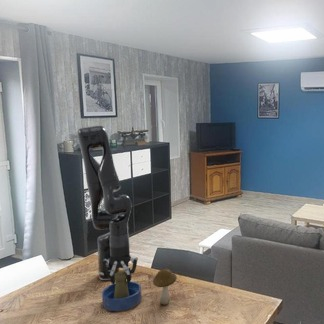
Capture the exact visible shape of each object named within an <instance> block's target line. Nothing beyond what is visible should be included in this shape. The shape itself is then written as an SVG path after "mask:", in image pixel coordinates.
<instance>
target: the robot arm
mask: <svg viewBox="0 0 324 324" xmlns="http://www.w3.org/2000/svg"><path fill="white" fill-rule="evenodd" d="M77 140H78V143H79V148H80V152H81V157H82V160H83V161H82V162H83V166H84V172H85V181H86V186H87V189H88V195H89V201H90V209H91V219H92V226H93V228H94V229H95V230H109V231H108V232H107V233H104V234H101V235H99V236H98V237H97V239H96V240H97V260H98V274H97V275H98V279H99V280H100V281H110V283H111V285H112V284H115V283H116V281H115V279H114V275H115V273H117V272H119V271H120V269H123V271H125V272H126V273H127V279H126V281H127V283H129V282H130V281H131V282H132V274H134V273H135V272H136V269H137V266H138V265H137V264H138V259H139V257H136V256H135V257H132V256H131V252H130V234H129V221H130V220H129V219H130V215H131V212H132V207H133V202H132V199H131V197H130V196H129V195H127V194H120V195H115V196H114V194H115V192H116V193H117V192H118V191H119V190H121V188H122V185H121V181H120V179H119V176H118V173H117V170H116V168H115V167H116V166H115V163H114V158H113V153H112V148H111V144H110V140H109V136H108V132H107V130H106V129H105V127H104V126H103V125H101V124H100V125H92V126H86V127H81V128H79V129H77ZM98 148H102V157H101V160H100V163H99V162H98V161H97V160H96V158H95V157H94V156H93V154H91V153H92V152H91V150H92V149H93V150H94V149H98ZM102 202H103V209H101V204H102ZM130 262H131V264H132V266H131V267H130V264H129V263H130Z"/></svg>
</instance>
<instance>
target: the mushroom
mask: <svg viewBox="0 0 324 324" xmlns="http://www.w3.org/2000/svg"><path fill="white" fill-rule="evenodd" d="M177 279H178V277H177V275H176V274H175V273H173V272H172V271H171V270H170V269H168V268H162V269H159V271H158V272H157V273H156V275H155V276H154V278H153V280H152V284H153V285H154V286H155V287H157V288H162V290H161V294H160V299H159V302H160V304H161V305H163V306H164V305H166V306H167V305H168V304H169V303H170V301H171V300H170V299H171V297H170V291H169V286H171V285H173V284H174V283H176V281H177Z"/></svg>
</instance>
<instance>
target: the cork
mask: <svg viewBox="0 0 324 324" xmlns="http://www.w3.org/2000/svg"><path fill="white" fill-rule="evenodd" d="M114 279H115V283H116V284H115V293H114V299H121V298H126V297H129V291H128V286H127V273H126V271H125V270H119V272H117V273H115V275H114Z"/></svg>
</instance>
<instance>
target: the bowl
mask: <svg viewBox="0 0 324 324" xmlns="http://www.w3.org/2000/svg"><path fill="white" fill-rule="evenodd" d="M115 284H116V282H115ZM115 284H112V283H111V284H110V285H108V286H107V287H105V288H104V289H103V290H102V291H101V298H102V299H101V301H102V307H103V308H104V309H105V310H107V311H109V312H122V311H126V310H131V309H133V308H134V307H136V306H137V305H139V304H140V303H141V302H142V298H143V297H142V285H141V284H140V283H138V282H136V281H132V280H131V281H130V282H129V283H127V286H128V291H129V297H126V298H121V299H114V293H115Z"/></svg>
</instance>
